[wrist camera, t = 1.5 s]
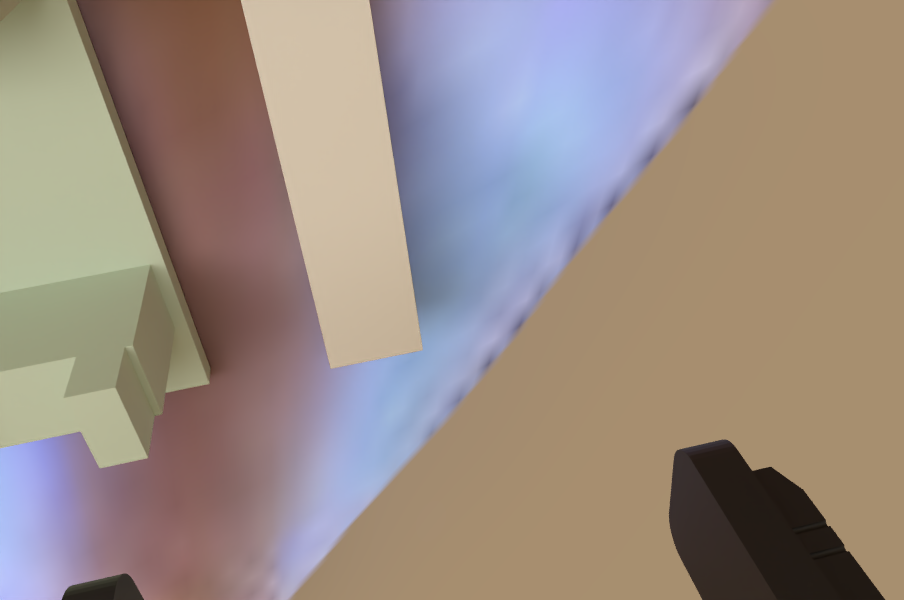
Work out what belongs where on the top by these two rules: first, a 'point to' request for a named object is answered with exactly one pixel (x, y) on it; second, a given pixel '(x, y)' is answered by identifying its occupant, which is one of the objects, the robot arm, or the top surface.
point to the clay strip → (338, 171)
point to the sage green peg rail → (79, 252)
